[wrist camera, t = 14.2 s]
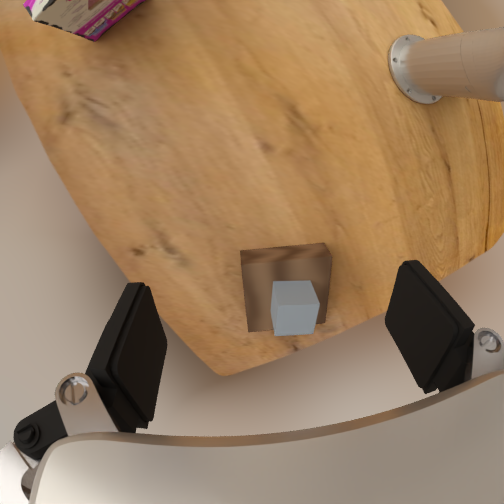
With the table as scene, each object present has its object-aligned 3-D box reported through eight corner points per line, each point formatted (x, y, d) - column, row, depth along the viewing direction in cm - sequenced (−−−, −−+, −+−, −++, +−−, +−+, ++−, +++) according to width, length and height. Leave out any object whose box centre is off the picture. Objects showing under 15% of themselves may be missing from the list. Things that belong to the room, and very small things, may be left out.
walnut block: (323, 241, 46) (332, 255, 42) (318, 305, 53) (325, 322, 49) (240, 249, 46) (241, 264, 42) (246, 314, 53) (248, 332, 48)
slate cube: (310, 280, 44) (319, 303, 38) (305, 309, 47) (313, 333, 41) (273, 281, 43) (278, 305, 38) (270, 310, 46) (274, 335, 41)
